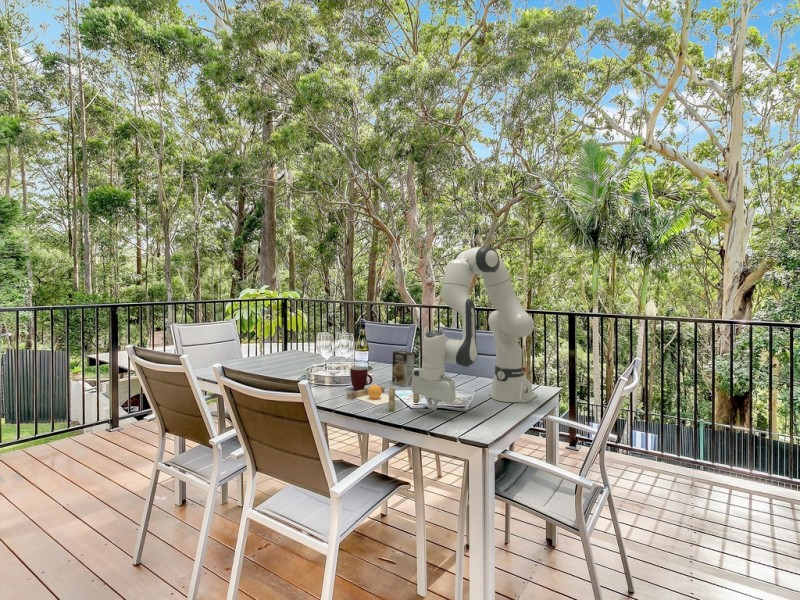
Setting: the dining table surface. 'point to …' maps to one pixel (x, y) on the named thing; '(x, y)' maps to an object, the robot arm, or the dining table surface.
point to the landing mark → (379, 401)
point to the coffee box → (402, 368)
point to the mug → (359, 377)
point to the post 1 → (391, 399)
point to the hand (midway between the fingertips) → (432, 409)
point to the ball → (374, 392)
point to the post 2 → (415, 398)
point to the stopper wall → (361, 393)
